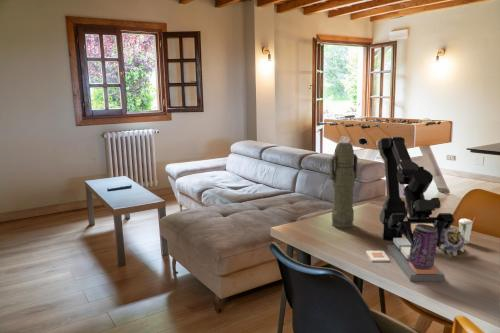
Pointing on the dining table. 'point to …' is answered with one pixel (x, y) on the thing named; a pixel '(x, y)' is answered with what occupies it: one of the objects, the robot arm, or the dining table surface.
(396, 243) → the grey-blue key
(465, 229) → the milkshake
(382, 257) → the card
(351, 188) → the thermos
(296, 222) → the dining table surface
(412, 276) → the keypad board
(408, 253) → the off-white key
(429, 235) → the beverage can
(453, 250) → the passion flower
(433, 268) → the terracotta key
